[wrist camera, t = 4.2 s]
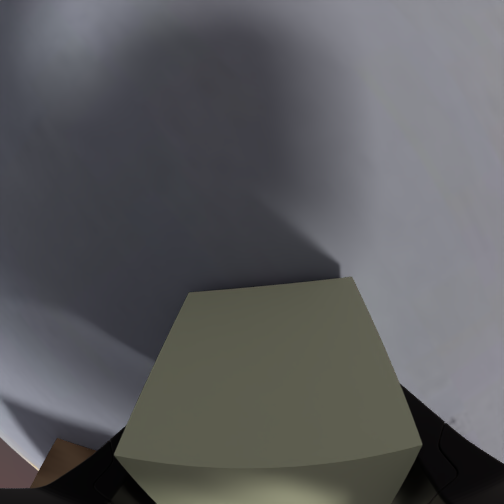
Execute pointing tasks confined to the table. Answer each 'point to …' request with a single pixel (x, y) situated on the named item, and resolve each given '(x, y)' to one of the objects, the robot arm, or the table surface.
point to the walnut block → (60, 461)
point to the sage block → (272, 403)
